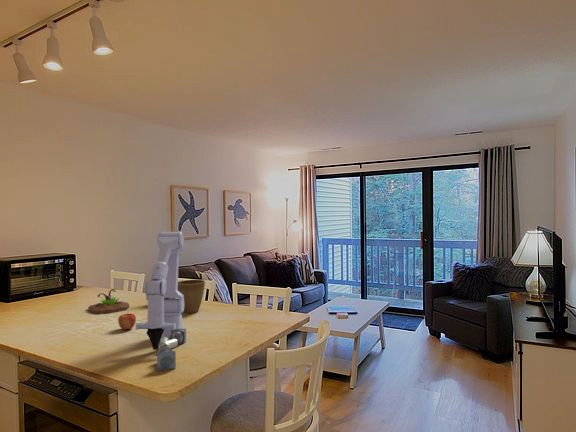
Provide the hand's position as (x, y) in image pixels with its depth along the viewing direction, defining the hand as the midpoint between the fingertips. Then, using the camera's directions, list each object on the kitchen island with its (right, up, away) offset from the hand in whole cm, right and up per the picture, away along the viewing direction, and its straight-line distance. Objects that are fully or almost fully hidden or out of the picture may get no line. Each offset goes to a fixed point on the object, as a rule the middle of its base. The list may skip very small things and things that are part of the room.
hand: (155, 348), depth 139 cm
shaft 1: (+8, -1, -13) cm, 16 cm away
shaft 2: (+5, -1, +9) cm, 11 cm away
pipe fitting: (+4, -2, +3) cm, 5 cm away
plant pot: (-3, -2, +61) cm, 61 cm away
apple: (-23, -2, +28) cm, 37 cm away
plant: (-49, -3, +67) cm, 83 cm away
